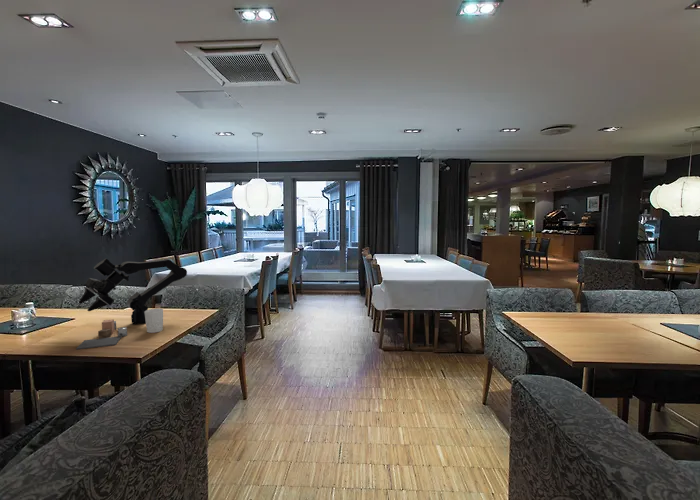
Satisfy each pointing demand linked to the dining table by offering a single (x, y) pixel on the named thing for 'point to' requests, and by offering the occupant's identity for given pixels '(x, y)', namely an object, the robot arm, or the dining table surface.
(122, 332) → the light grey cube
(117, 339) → the charcoal mat
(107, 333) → the walnut block
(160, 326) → the white cup
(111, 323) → the terracotta block
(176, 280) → the robot arm
